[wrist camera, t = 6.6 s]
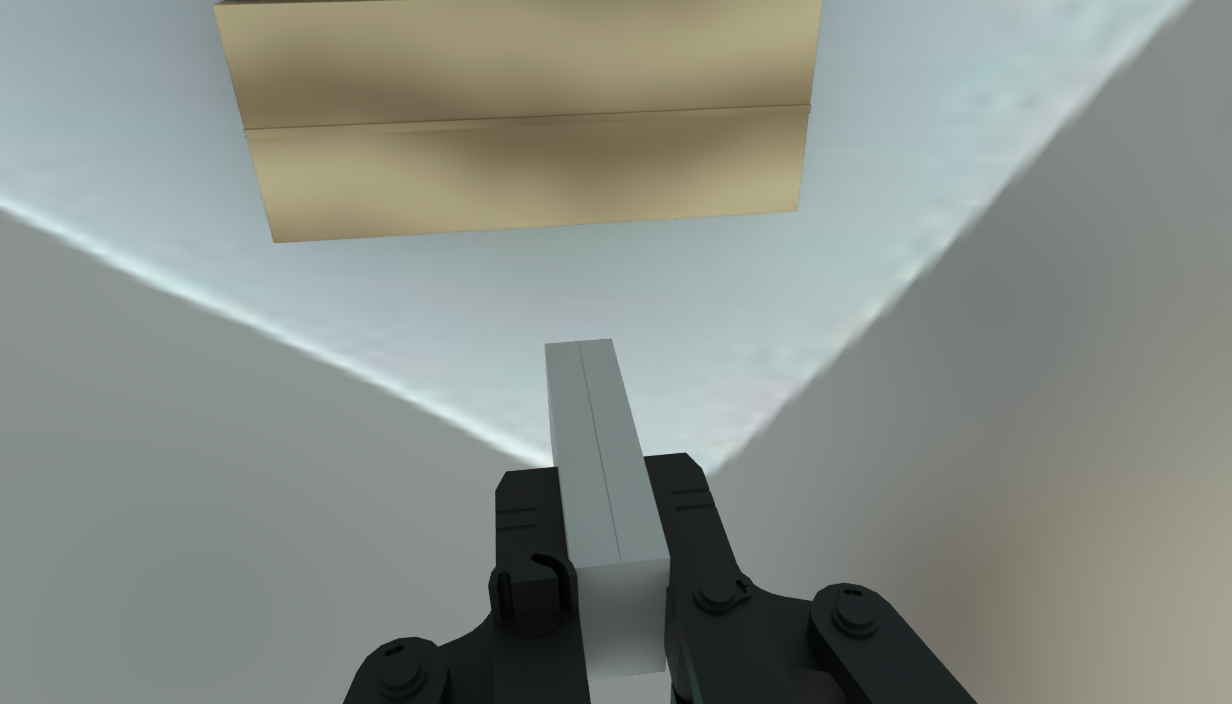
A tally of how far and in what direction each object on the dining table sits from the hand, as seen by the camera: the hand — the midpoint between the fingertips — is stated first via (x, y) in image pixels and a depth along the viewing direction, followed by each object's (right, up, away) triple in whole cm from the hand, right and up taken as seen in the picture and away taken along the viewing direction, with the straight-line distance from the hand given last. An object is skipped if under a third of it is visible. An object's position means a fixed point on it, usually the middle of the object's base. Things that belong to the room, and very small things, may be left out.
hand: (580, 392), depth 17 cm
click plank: (-2, +10, +11) cm, 15 cm away
